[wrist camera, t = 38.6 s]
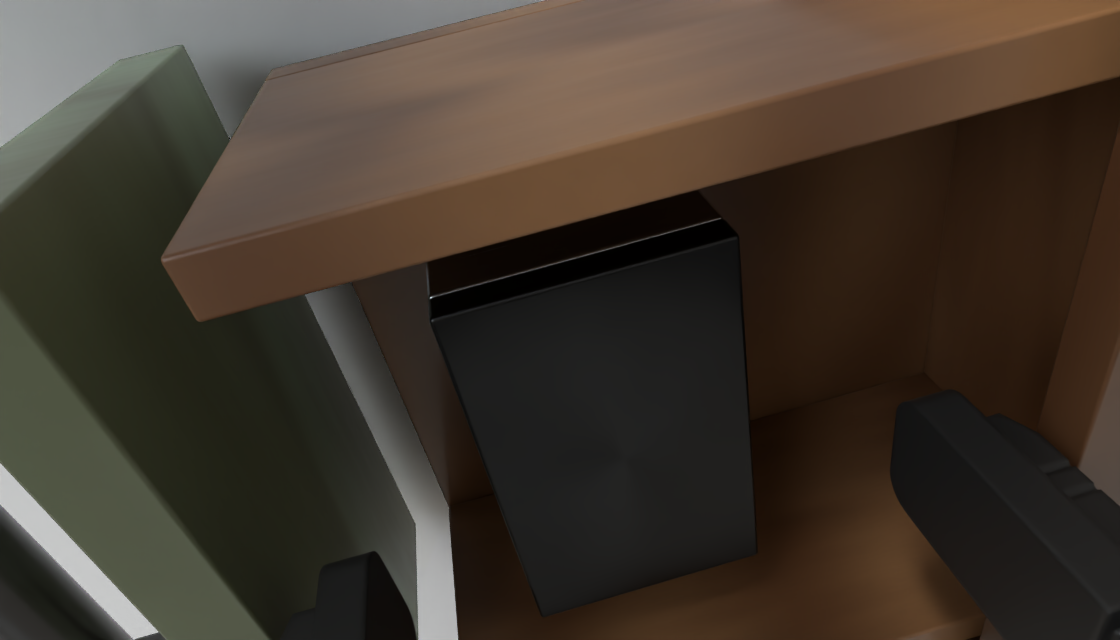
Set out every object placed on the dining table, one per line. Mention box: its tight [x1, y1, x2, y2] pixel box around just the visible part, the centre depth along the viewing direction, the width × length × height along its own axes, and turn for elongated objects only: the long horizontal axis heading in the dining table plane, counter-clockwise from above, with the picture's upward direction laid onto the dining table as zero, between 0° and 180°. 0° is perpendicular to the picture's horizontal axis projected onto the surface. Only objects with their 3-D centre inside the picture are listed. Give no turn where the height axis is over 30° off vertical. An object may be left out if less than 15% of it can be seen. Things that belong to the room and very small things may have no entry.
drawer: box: [0, 0, 1120, 640], centre depth 13 cm, size 22×13×8 cm, turn 102°
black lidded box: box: [425, 189, 758, 617], centre depth 14 cm, size 4×7×5 cm, turn 12°
